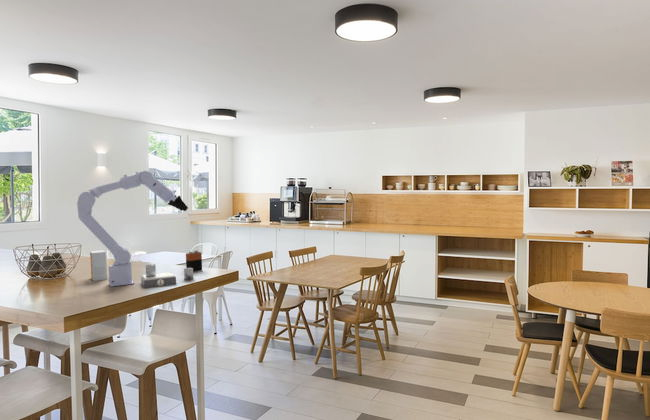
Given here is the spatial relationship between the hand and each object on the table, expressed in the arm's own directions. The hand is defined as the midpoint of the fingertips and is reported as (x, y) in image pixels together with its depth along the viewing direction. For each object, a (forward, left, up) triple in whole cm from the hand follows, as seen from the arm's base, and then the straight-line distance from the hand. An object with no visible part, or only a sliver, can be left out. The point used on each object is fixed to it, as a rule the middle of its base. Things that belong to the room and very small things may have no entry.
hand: (185, 209), depth 210 cm
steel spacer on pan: (-17, -9, -28) cm, 34 cm away
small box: (-37, +20, -32) cm, 53 cm away
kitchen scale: (-14, -9, -32) cm, 36 cm away
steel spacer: (-1, -7, -32) cm, 33 cm away
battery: (+6, +14, -32) cm, 36 cm away
